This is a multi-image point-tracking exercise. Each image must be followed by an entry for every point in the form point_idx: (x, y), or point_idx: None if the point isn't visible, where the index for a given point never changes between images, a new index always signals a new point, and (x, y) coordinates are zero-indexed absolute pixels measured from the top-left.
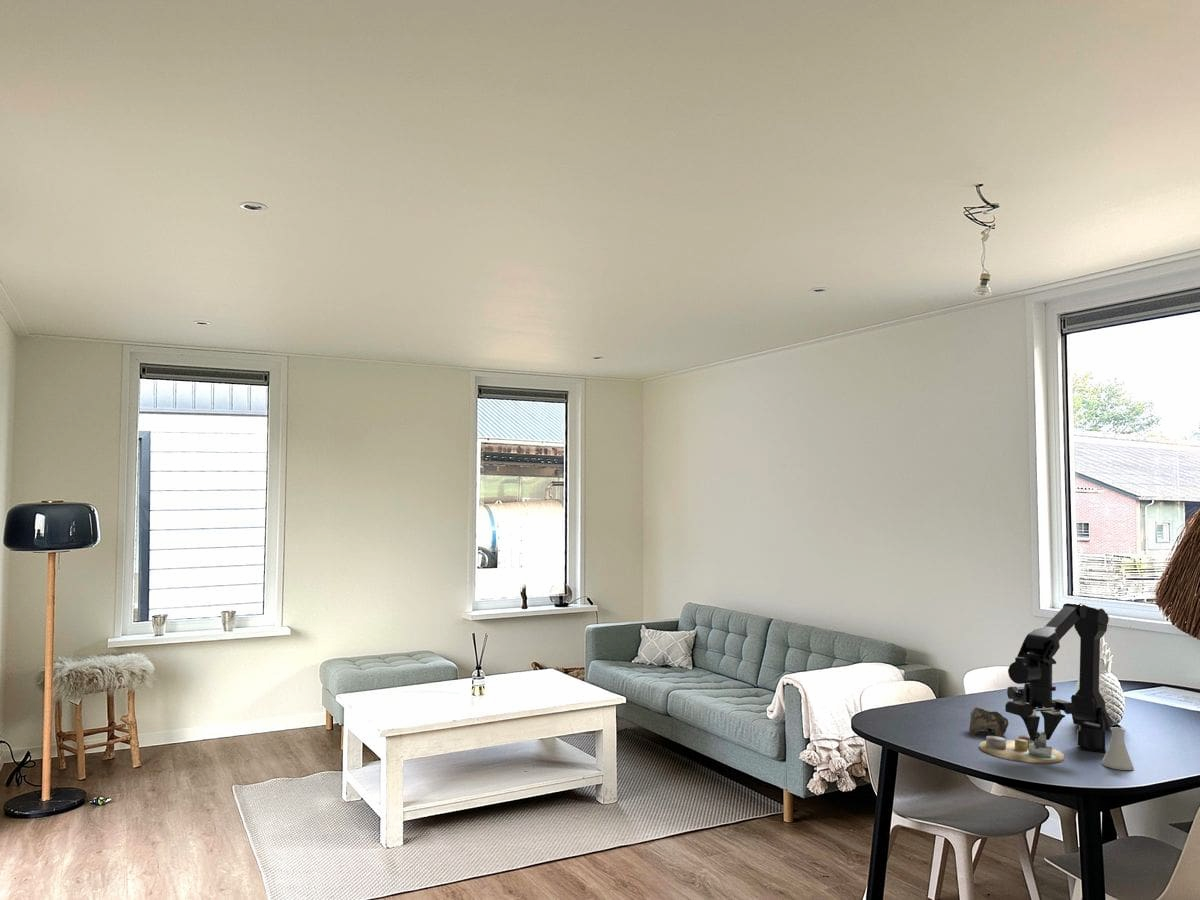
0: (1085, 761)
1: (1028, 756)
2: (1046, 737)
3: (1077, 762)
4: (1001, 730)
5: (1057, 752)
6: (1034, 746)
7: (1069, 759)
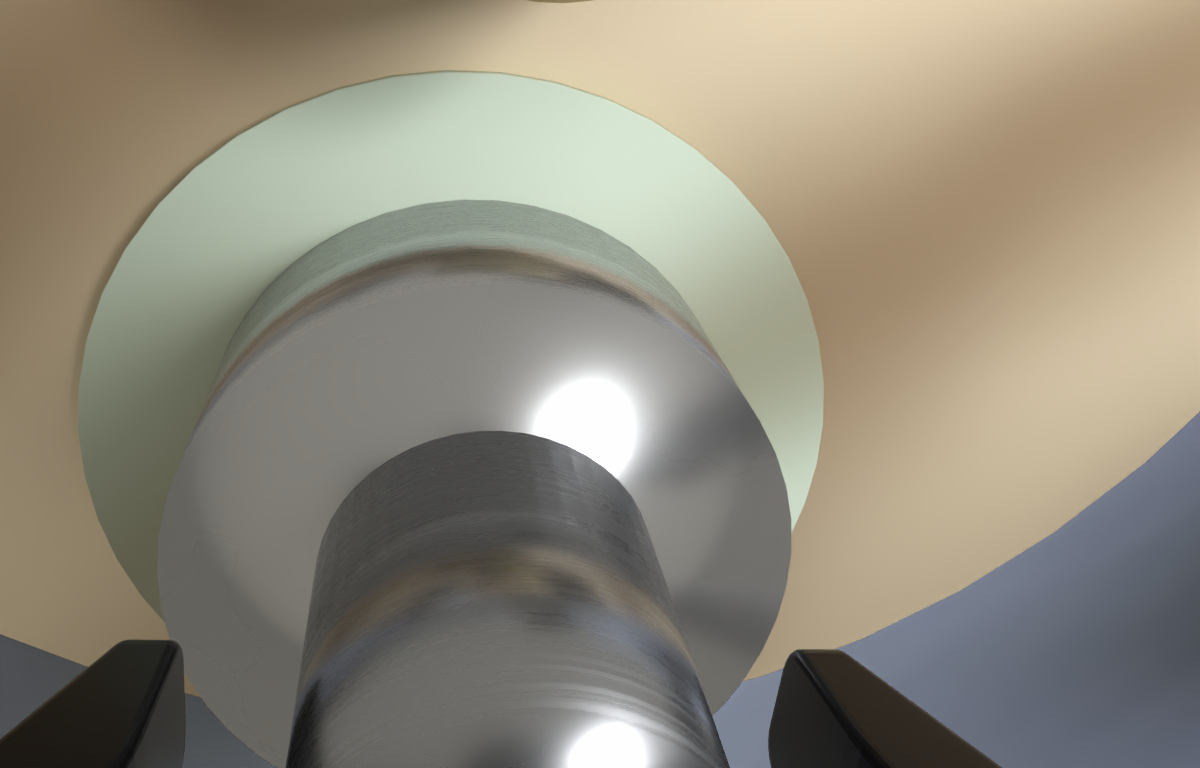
0: (1194, 700)
1: (78, 446)
2: (800, 737)
3: (997, 718)
4: None
5: (1190, 315)
6: (234, 602)
7: (1069, 555)
